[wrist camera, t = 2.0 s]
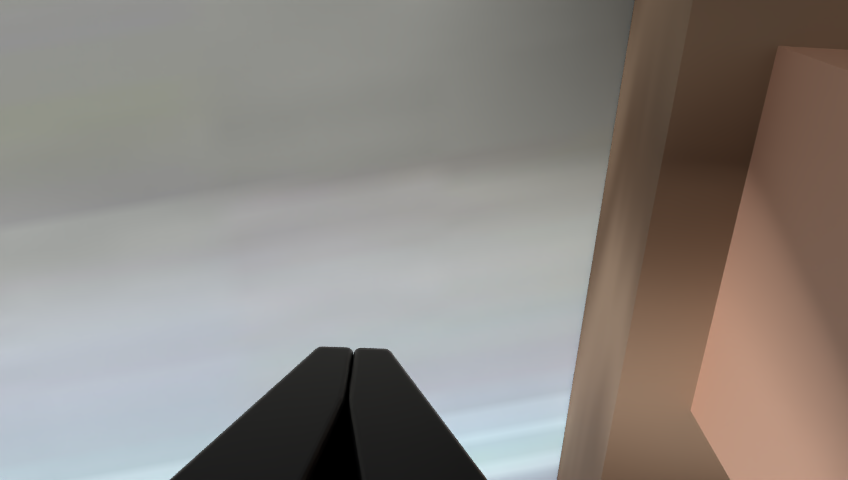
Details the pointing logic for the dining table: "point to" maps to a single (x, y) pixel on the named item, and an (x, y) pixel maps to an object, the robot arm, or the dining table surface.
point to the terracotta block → (786, 288)
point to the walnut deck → (673, 226)
